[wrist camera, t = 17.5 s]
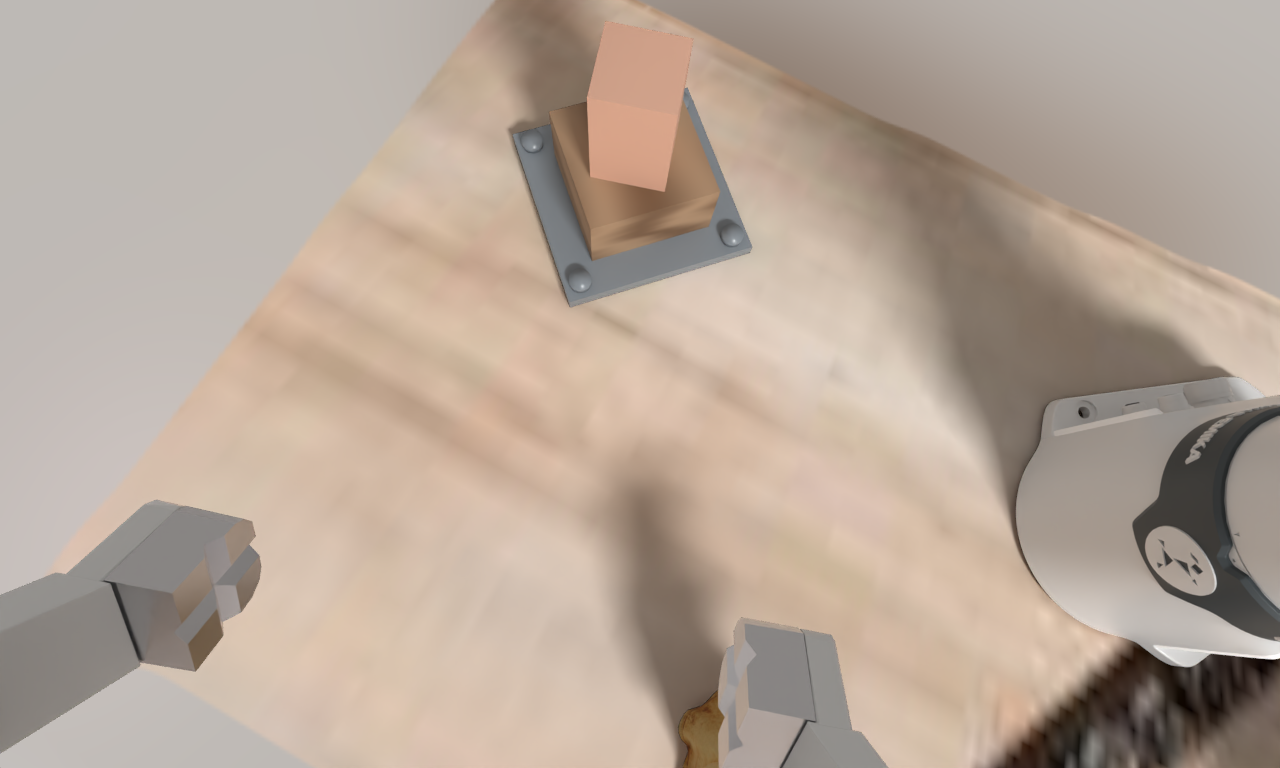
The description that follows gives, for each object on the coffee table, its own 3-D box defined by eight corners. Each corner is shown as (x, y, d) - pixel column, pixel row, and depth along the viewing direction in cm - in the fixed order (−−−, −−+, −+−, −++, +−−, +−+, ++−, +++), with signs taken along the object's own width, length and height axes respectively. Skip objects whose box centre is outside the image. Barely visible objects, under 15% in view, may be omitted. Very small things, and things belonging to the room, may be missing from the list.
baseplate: (685, 96, 52) (688, 82, 50) (749, 252, 49) (754, 243, 47) (514, 142, 50) (511, 129, 48) (569, 307, 47) (568, 299, 46)
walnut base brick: (667, 123, 50) (674, 78, 45) (708, 226, 48) (720, 191, 43) (554, 154, 49) (549, 111, 44) (591, 261, 47) (590, 229, 42)
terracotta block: (605, 111, 44) (605, 20, 36) (677, 126, 44) (693, 38, 36) (590, 177, 43) (586, 97, 35) (664, 192, 43) (677, 115, 35)
